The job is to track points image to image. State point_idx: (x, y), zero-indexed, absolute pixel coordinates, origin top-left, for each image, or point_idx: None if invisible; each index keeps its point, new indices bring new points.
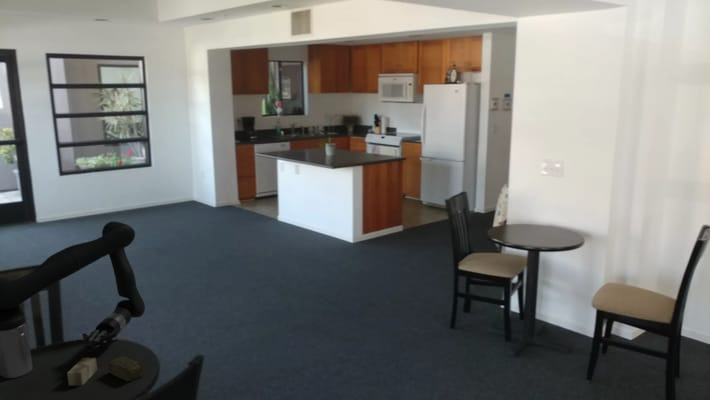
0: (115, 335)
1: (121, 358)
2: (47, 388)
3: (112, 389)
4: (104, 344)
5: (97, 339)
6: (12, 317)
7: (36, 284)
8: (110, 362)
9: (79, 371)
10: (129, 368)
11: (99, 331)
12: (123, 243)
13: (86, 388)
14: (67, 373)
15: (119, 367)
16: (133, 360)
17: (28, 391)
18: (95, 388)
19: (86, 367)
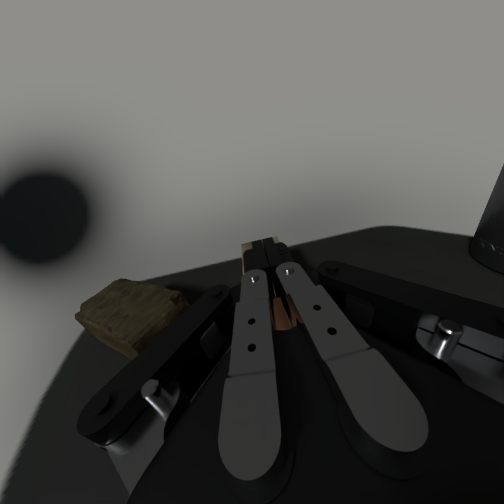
0: (101, 394)
1: (135, 320)
2: (319, 249)
3: (175, 280)
4: (213, 328)
5: (245, 285)
6: None
7: None
8: (174, 290)
9: (249, 246)
10: (113, 282)
11: (357, 432)
12: None
13: (233, 269)
14: (276, 237)
15: (143, 282)
16: (90, 320)
17: (348, 236)
18: (213, 273)
19: (242, 259)
